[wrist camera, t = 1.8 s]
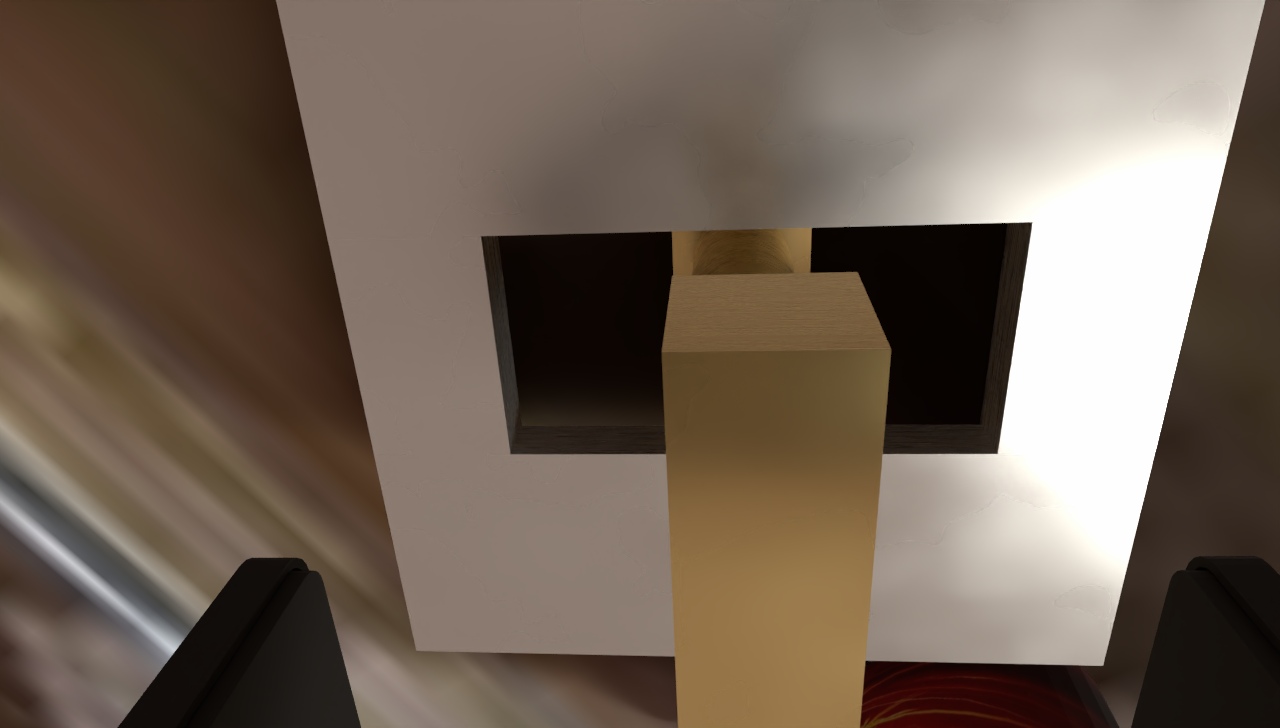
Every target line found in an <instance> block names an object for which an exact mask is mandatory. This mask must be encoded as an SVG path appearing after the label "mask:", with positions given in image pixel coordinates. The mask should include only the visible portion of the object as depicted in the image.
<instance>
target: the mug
mask: <svg viewBox="0 0 1280 728" xmlns="http://www.w3.org/2000/svg"><path fill="white" fill-rule="evenodd" d="M860 728H1119V726H1118V724H1117V722H1116V720H1115V718H1114V716H1113V714H1112V712H1111V710H1110V709H1109V707H1108V705H1107V703H1106V701H1105V699H1104V697H1103V695H1102V694H1101V692H1100V690H1099V688H1098V686H1097V685H1096V683H1095V682H1094V681H1093V679H1092V678H1091V677H1090V676H1089V675H1088V674H1087V673H1086V672H1085V671H1084V670H1083V669H1082V668H1081V667H1080V666H1079V665H1045V664H999V663H953V662H907V661H874V662H872V663H870V664H869V665H867V666H866V667H865V672H864V684H863V696H862V708H861V720H860Z"/></svg>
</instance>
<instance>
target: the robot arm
mask: <svg viewBox="0 0 1280 728" xmlns="http://www.w3.org/2000/svg"><path fill="white" fill-rule="evenodd" d="M118 728H361V725H360V721H359V718H358V714H357V710H356V706H355V702H354V698H353V695H352V691H351V687H350V683H349V679H348V675H347V672H346V668H345V664H344V660H343V656H342V652H341V649H340V645H339V641H338V637H337V633H336V629H335V626H334V622H333V618H332V614H331V610H330V606H329V602H328V599H327V595H326V591H325V587H324V583H323V580H322V577H321V575H320V574H319V573H318V572H317V571H309V569H308V567H307V564H306V563H305V562H304V561H303V560H302V559H299V558H250V559H248V560H246V561H245V562H244V563H243V564H241V565H240V567H239V568H238V569H237V571H236V572H235V573H234V575H233V576H232V577H231V578H230V580H229V581H228V582H227V584H226V585H225V586H224V588H223V589H222V590H221V592H220V593H219V594H218V596H217V597H216V598H215V600H214V601H213V602H212V604H211V605H210V606H209V608H208V609H207V610H206V612H205V613H204V614H203V615H202V617H201V618H200V619H199V621H198V622H197V623H196V625H195V626H194V627H193V629H192V630H191V631H190V633H189V634H188V635H187V637H186V638H185V639H184V641H183V642H182V643H181V645H180V646H179V647H178V649H177V650H176V651H175V652H174V654H173V655H172V656H171V658H170V659H169V660H168V662H167V663H166V664H165V666H164V667H163V668H162V670H161V671H160V672H159V674H158V675H157V676H156V678H155V679H154V680H153V682H152V683H151V684H150V686H149V687H148V688H147V690H146V691H145V692H144V693H143V695H142V696H141V697H140V699H139V700H138V701H137V703H136V704H135V705H134V707H133V708H132V709H131V711H130V712H129V713H128V715H127V716H126V717H125V719H124V720H123V721H122V723H121V724H120V725H119V727H118ZM1131 728H1280V575H1279V574H1278V573H1277V572H1276V571H1275V570H1274V569H1273V568H1272V567H1271V566H1270V565H1269V564H1268V563H1267V562H1265V561H1264V560H1263V559H1261V558H1258V557H1255V556H1200V557H1196V558H1193V559H1192V560H1191V561H1190V562H1189V564H1188V566H1187V568H1186V570H1181V571H1177V572H1176V573H1175V574H1174V575H1173V576H1172V578H1171V581H1170V584H1169V588H1168V592H1167V595H1166V599H1165V603H1164V607H1163V610H1162V614H1161V618H1160V622H1159V625H1158V629H1157V633H1156V637H1155V640H1154V644H1153V648H1152V652H1151V655H1150V659H1149V663H1148V667H1147V670H1146V674H1145V678H1144V681H1143V685H1142V689H1141V693H1140V696H1139V700H1138V704H1137V708H1136V711H1135V715H1134V719H1133V723H1132V726H1131Z"/></svg>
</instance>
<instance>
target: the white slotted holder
mask: <svg viewBox="0 0 1280 728" xmlns="http://www.w3.org/2000/svg"><path fill="white" fill-rule="evenodd" d="M276 3H277V7H278V12H279V17H280V21H281V26H282V30H283V35H284V40H285V44H286V49H287V54H288V58H289V63H290V68H291V72H292V77H293V81H294V86H295V91H296V95H297V100H298V105H299V109H300V114H301V118H302V123H303V128H304V132H305V137H306V142H307V146H308V151H309V156H310V160H311V165H312V169H313V174H314V179H315V183H316V188H317V193H318V197H319V202H320V206H321V211H322V216H323V220H324V225H325V230H326V234H327V239H328V244H329V248H330V253H331V257H332V262H333V267H334V271H335V276H336V281H337V285H338V290H339V294H340V299H341V304H342V308H343V313H344V318H345V322H346V327H347V332H348V336H349V341H350V345H351V350H352V355H353V359H354V364H355V369H356V373H357V378H358V382H359V387H360V392H361V396H362V401H363V406H364V410H365V415H366V420H367V424H368V429H369V433H370V438H371V443H372V447H373V452H374V457H375V461H376V466H377V470H378V475H379V480H380V484H381V489H382V494H383V498H384V503H385V507H386V512H387V517H388V521H389V526H390V531H391V535H392V540H393V545H394V549H395V554H396V558H397V563H398V568H399V572H400V577H401V582H402V586H403V591H404V595H405V600H406V605H407V609H408V614H409V619H410V623H411V628H412V633H413V637H414V642H415V646H416V651H446V652H492V653H539V654H585V655H631V656H675V646H674V623H673V601H672V578H671V555H670V532H669V510H668V487H667V464H666V442H665V426H522V422H521V414H520V406H519V398H518V390H517V383H516V375H515V367H514V359H513V351H512V343H511V335H510V327H509V319H508V312H507V304H506V296H505V288H504V280H503V272H502V264H501V256H500V248H499V240H498V236H510V235H549V234H588V233H627V232H667V231H706V230H745V229H784V228H824V227H863V226H902V225H941V224H981V223H1007V230H1006V237H1005V244H1004V251H1003V258H1002V266H1001V273H1000V280H999V287H998V295H997V302H996V309H995V316H994V324H993V331H992V338H991V345H990V353H989V360H988V367H987V374H986V382H985V389H984V396H983V403H982V410H981V418H980V424H956V425H885V433H884V445H883V457H882V469H881V481H880V492H879V504H878V516H877V528H876V540H875V552H874V564H873V576H872V588H871V600H870V612H869V624H868V636H867V648H866V660H865V661H907V662H953V663H999V664H1045V665H1092V666H1103V664H1104V659H1105V655H1106V651H1107V647H1108V643H1109V639H1110V635H1111V631H1112V627H1113V623H1114V618H1115V614H1116V610H1117V606H1118V602H1119V598H1120V594H1121V590H1122V586H1123V581H1124V577H1125V573H1126V569H1127V565H1128V561H1129V557H1130V553H1131V549H1132V545H1133V540H1134V536H1135V532H1136V528H1137V524H1138V520H1139V516H1140V512H1141V508H1142V503H1143V499H1144V495H1145V491H1146V487H1147V483H1148V479H1149V475H1150V471H1151V467H1152V462H1153V458H1154V454H1155V450H1156V446H1157V442H1158V438H1159V434H1160V430H1161V425H1162V421H1163V417H1164V413H1165V409H1166V405H1167V401H1168V397H1169V393H1170V389H1171V384H1172V380H1173V376H1174V372H1175V368H1176V364H1177V360H1178V356H1179V352H1180V347H1181V343H1182V339H1183V335H1184V331H1185V327H1186V323H1187V319H1188V315H1189V311H1190V306H1191V302H1192V298H1193V294H1194V290H1195V286H1196V282H1197V278H1198V274H1199V269H1200V265H1201V261H1202V257H1203V253H1204V249H1205V245H1206V241H1207V237H1208V232H1209V228H1210V224H1211V220H1212V216H1213V212H1214V208H1215V204H1216V200H1217V196H1218V191H1219V187H1220V183H1221V179H1222V175H1223V171H1224V167H1225V163H1226V159H1227V154H1228V150H1229V146H1230V142H1231V138H1232V134H1233V130H1234V126H1235V122H1236V118H1237V113H1238V109H1239V105H1240V101H1241V97H1242V93H1243V89H1244V85H1245V81H1246V76H1247V72H1248V68H1249V64H1250V60H1251V56H1252V52H1253V48H1254V44H1255V40H1256V35H1257V31H1258V27H1259V23H1260V19H1261V15H1262V11H1263V7H1264V3H1265V0H276Z"/></svg>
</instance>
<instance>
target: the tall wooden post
mask: <svg viewBox="0 0 1280 728" xmlns="http://www.w3.org/2000/svg"><path fill="white" fill-rule="evenodd" d="M811 237H812V228H784V229H745V230H706V231H672V251H673V276H672V281H671V288H670V295H669V302H668V309H667V317H666V324H665V331H664V338H663V346H662V373H663V396H664V419H665V442H666V464H667V487H668V510H669V532H670V555H671V578H672V601H673V623H674V646H675V669H676V692H677V714H678V728H860V720H861V708H862V696H863V684H864V672H865V660H866V648H867V636H868V624H869V612H870V600H871V588H872V576H873V564H874V552H875V540H876V528H877V516H878V504H879V492H880V481H881V469H882V457H883V445H884V433H885V421H886V409H887V397H888V385H889V373H890V361H891V347H890V345H889V343H888V341H887V338H886V336H885V334H884V331H883V329H882V327H881V325H880V322H879V320H878V318H877V315H876V313H875V311H874V309H873V306H872V304H871V302H870V299H869V297H868V295H867V293H866V290H865V288H864V286H863V283H862V281H861V279H860V277H859V274H858V272H831V273H810V264H811Z"/></svg>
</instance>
